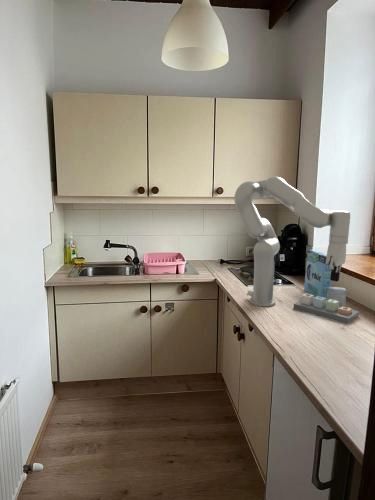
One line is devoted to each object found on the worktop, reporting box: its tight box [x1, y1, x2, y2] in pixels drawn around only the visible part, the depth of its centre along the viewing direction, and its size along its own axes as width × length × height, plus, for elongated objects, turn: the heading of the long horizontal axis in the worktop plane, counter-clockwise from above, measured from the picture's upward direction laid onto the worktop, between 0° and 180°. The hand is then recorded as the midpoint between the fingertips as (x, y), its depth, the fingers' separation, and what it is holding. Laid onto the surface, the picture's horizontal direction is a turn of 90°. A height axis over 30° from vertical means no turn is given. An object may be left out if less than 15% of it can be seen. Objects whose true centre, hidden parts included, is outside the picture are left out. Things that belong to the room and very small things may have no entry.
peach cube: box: [339, 306, 353, 315], centre depth 150 cm, size 4×4×4 cm
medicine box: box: [327, 286, 347, 307], centre depth 165 cm, size 8×4×9 cm, turn 74°
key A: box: [326, 299, 339, 312], centre depth 153 cm, size 4×4×4 cm
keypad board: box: [292, 299, 360, 325], centre depth 156 cm, size 25×12×2 cm, turn 44°
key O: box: [301, 292, 315, 305], centre depth 161 cm, size 4×4×4 cm
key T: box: [313, 296, 326, 308], centre depth 157 cm, size 4×4×4 cm
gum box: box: [303, 249, 332, 301], centre depth 179 cm, size 20×5×23 cm, turn 6°
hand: (334, 280), depth 151 cm, fingers closed
